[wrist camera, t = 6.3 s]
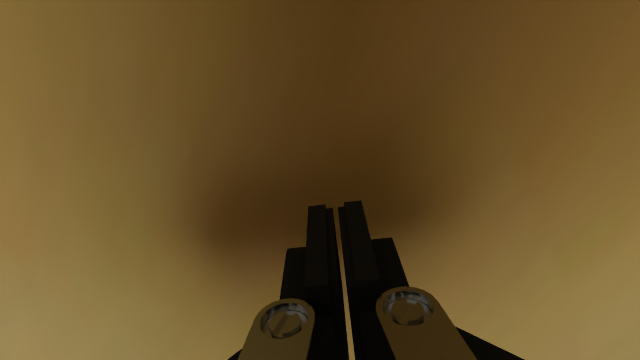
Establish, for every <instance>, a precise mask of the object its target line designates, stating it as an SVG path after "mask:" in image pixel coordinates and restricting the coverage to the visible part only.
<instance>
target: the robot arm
mask: <svg viewBox="0 0 640 360" xmlns="http://www.w3.org/2000/svg"><path fill="white" fill-rule="evenodd" d="M338 213H339V222H340V231H341V240H342V249H343V258H344V267H345V277H346V285H347V294H348V302H349V311H350V319H351V328H352V336H353V344H354V353H355V360H524V359H522V358H520V357H518V356H516V355H514V354H512V353H509V352H507V351H505V350H503V349H501V348H499V347H497V346H495V345H493V344H491V343H489V342H486V341H484V340H482V339H480V338H478V337H476V336H474V335H472V334H470V333H468V332H466V331H464V330H461V329H459V328H457V327H455V326H454V325H453V323H452V322H451V320H450V319H449V317H448V316H447V314H446V313H445V311H444V310H443V308H442V307H441V305H440V304H439V302H438V301H437V300H436V299H435V298H434V297H433V296H432V295H431V294H430V293H428V292H426V291H425V290H422V289H419V288H415V287H409V284H408V282H407V279H406V276H405V273H404V270H403V267H402V265H401V262H400V259H399V256H398V253H397V250H396V248H395V245H394V242H393V239H392V238H382V239H372V240H371V238H370V234H369V230H368V226H367V222H366V218H365V214H364V210H363V206H362V202H361V200H360V201H351V202H344V207H338ZM228 360H349V354H348V343H347V332H346V322H345V311H344V300H343V289H342V280H341V272H340V264H339V256H338V248H337V240H336V232H335V224H334V216H333V208H329V209H326V205H316V206H309V207H308V223H307V241H306V247H299V248H290V249H287V252H286V259H285V266H284V273H283V280H282V287H281V294H280V300H278V301H275V302H272V303H270V304H269V305H267V306H265V307H264V308H263V309H262V310H261V311H260V312H259V313H258V314H257V316H256V317H255V319H254V321H253V324H252V326H251V329H250V331H249V333H248V336H247V338H246V341H245V343H244V345H243V348H242V349H241V350H239V351H238V352H237V353H236V354H234V355H233V356H232V357H230V358H229V359H228Z"/></svg>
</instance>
